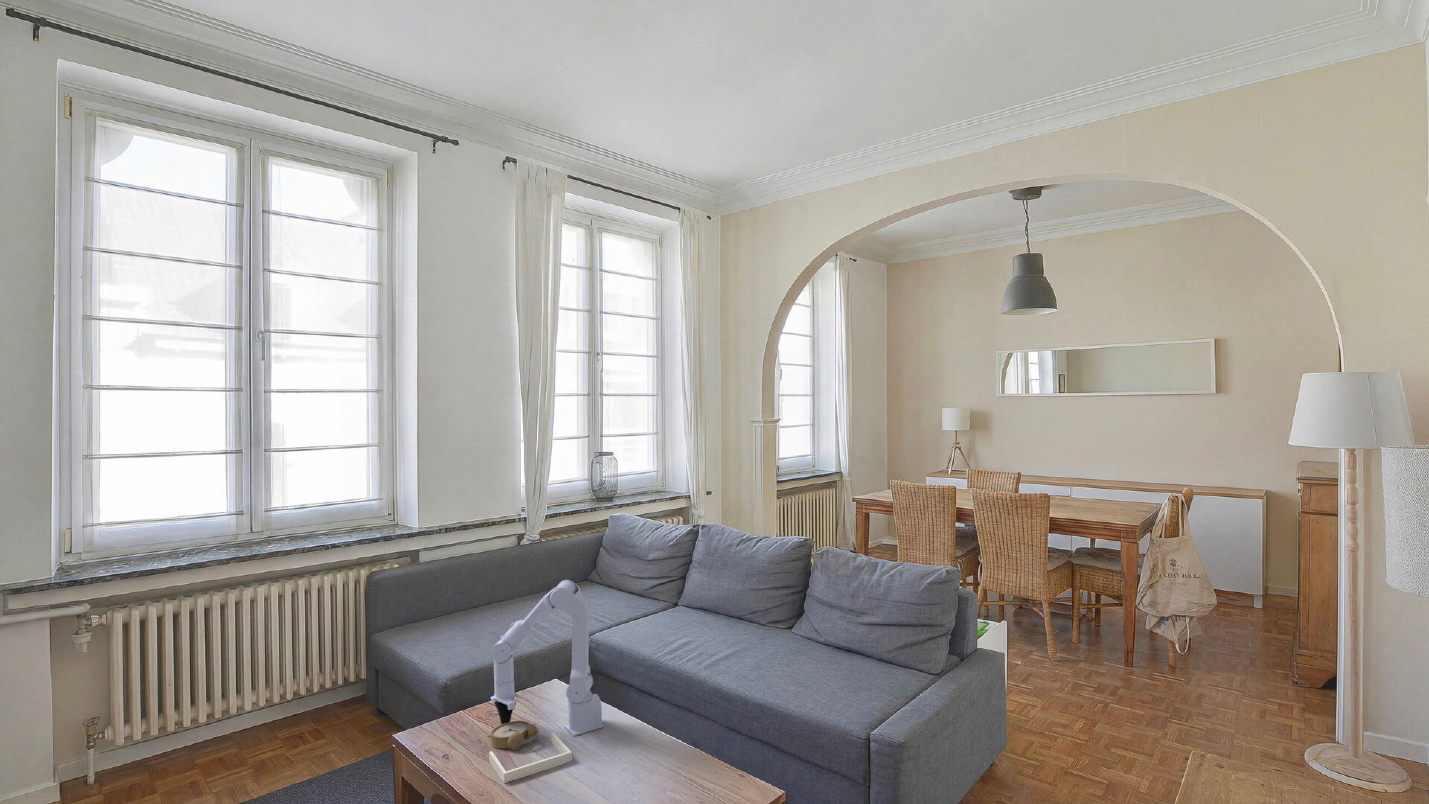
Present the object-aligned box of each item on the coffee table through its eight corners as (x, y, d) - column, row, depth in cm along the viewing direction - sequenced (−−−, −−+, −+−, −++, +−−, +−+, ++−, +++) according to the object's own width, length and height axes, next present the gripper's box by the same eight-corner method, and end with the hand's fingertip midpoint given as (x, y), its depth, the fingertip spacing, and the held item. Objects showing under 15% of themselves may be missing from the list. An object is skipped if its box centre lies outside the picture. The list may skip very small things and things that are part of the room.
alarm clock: (510, 718, 212) (546, 720, 204) (513, 735, 211) (548, 737, 204) (481, 734, 202) (517, 736, 194) (483, 751, 202) (519, 754, 194)
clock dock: (554, 741, 202) (553, 732, 202) (572, 761, 191) (571, 752, 191) (489, 761, 192) (489, 752, 192) (504, 783, 180) (503, 773, 180)
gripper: (484, 675, 214) (485, 719, 214) (497, 691, 202) (499, 737, 202) (507, 670, 218) (508, 713, 218) (521, 685, 206) (523, 731, 206)
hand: (505, 724), depth 211 cm, fingers closed
